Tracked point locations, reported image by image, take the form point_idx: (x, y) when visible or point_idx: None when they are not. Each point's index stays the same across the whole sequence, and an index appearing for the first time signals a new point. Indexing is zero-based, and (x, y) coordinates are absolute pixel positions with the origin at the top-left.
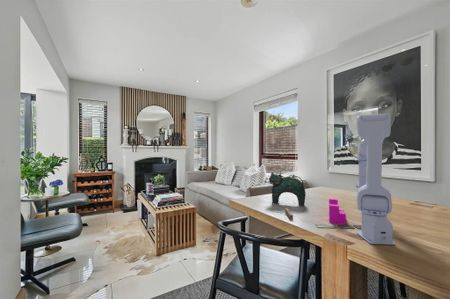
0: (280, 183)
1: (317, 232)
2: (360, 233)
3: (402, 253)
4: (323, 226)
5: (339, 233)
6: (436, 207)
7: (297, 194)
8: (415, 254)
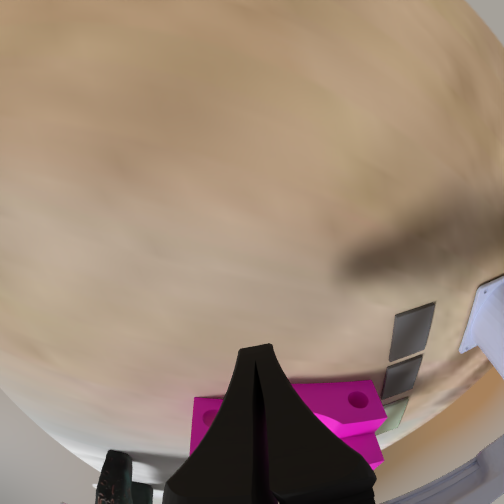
0: None
1: (427, 417)
2: (472, 343)
3: None
4: (395, 421)
5: (444, 384)
6: None
7: (132, 501)
8: None
